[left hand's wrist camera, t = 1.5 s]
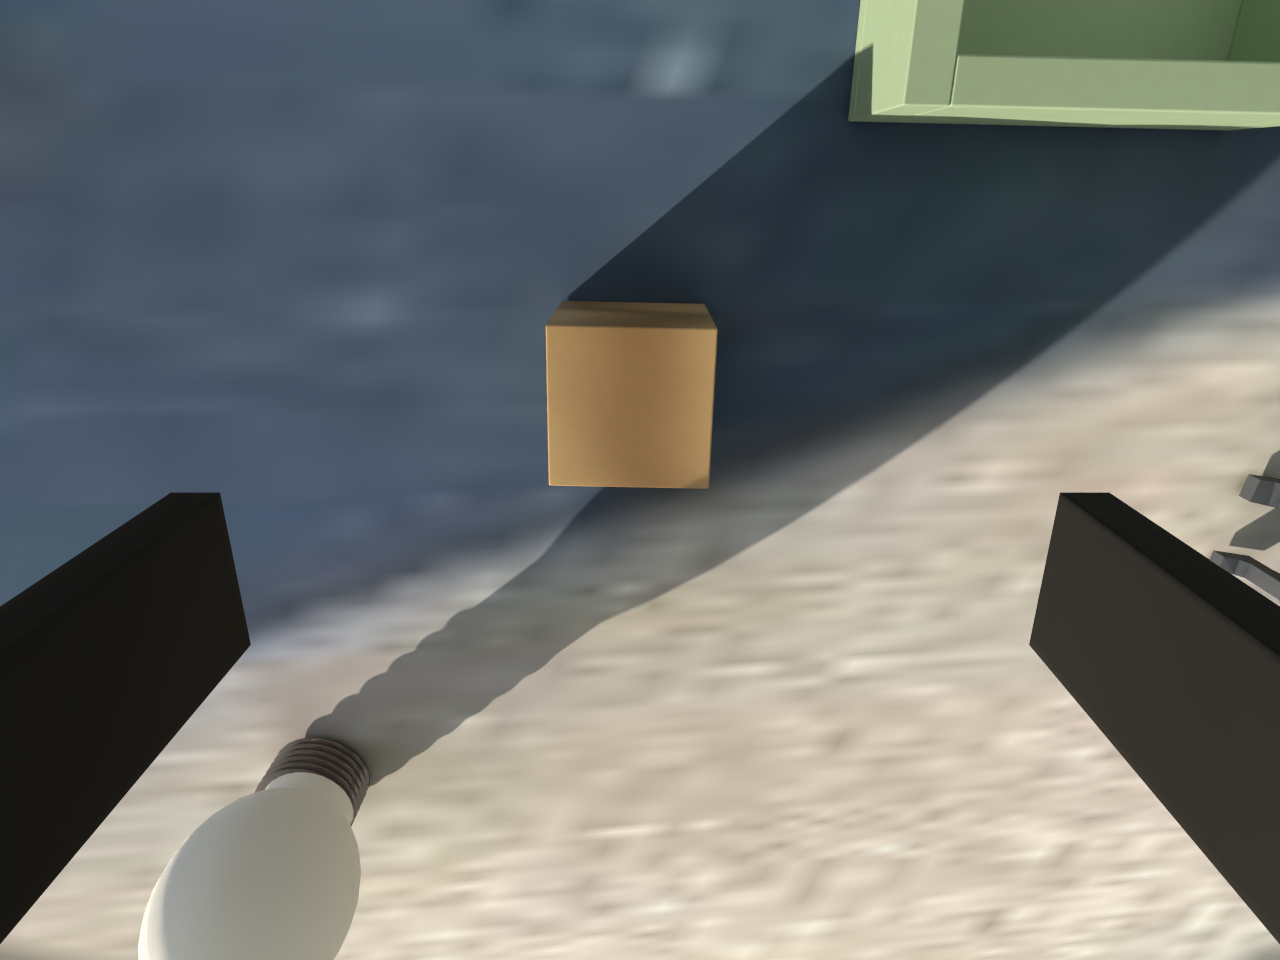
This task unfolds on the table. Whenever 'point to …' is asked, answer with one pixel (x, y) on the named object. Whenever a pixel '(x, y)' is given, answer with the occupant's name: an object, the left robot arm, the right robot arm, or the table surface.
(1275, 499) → the toy
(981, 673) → the table surface
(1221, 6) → the tray
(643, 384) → the block
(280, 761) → the light bulb
